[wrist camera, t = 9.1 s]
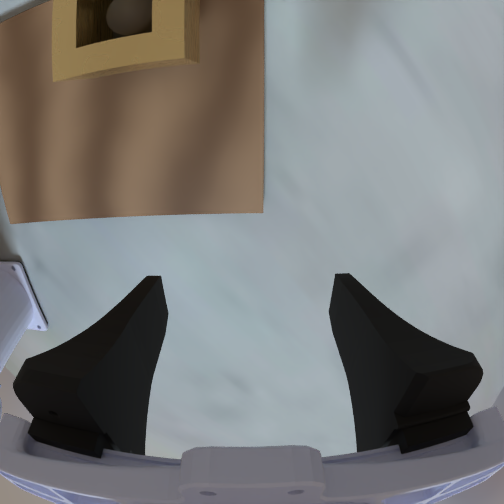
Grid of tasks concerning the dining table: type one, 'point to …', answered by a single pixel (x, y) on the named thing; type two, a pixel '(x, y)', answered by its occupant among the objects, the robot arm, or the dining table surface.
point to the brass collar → (121, 39)
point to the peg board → (134, 122)
